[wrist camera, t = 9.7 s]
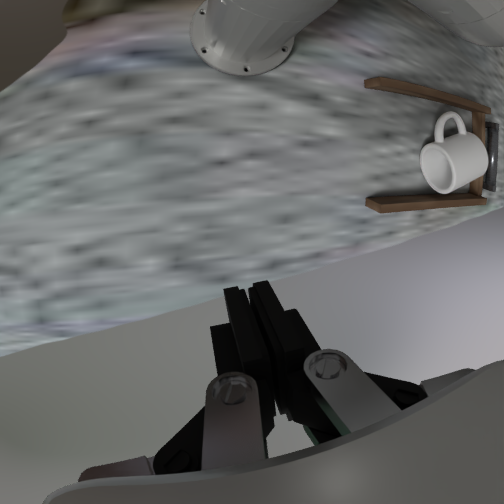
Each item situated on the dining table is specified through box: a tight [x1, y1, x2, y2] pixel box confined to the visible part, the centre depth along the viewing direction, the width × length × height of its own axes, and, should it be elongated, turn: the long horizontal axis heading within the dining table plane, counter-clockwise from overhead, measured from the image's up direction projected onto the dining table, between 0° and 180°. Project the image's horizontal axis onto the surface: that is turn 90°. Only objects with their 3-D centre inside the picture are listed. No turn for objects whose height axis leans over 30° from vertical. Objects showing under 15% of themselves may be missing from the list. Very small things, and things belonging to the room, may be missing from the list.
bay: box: [364, 77, 499, 213], centre depth 37 cm, size 18×30×4 cm, turn 94°
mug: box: [420, 111, 488, 194], centre depth 35 cm, size 12×10×8 cm
